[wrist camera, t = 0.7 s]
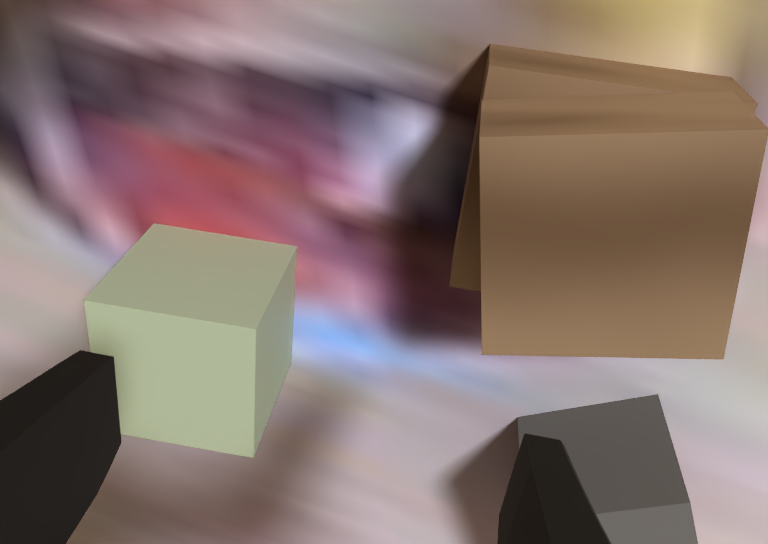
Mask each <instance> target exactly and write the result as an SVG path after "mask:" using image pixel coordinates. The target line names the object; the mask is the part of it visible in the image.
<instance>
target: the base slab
mask: <svg viewBox="0 0 768 544" xmlns="http://www.w3.org/2000/svg"><path fill="white" fill-rule="evenodd" d="M721 91H733V92H734V93H735V94H736V95H737V96H738V97H739V98H740V99H741V100H742V101H743V102H744V104H745V105H746V106H747V107H748V108H749V109H750V110H751V111H752V112H753V113H754V112H755V110H756V107H757V105H758V103H757V102H756V101H755V100H754V99H753V98H752V97H751V96H750V95H749V94H748V93H747V92H746V91H745V90H744V89H743V88H742V87H741V86H740V85H739V84H738V83H737V82H736V81H735V80H734V79H733V78H732V77H724V76H717V75H710V74H703V73H696V72H688V71H681V70H674V69H667V68H660V67H652V66H645V65H638V64H631V63H624V62H616V61H609V60H602V59H595V58H588V57H580V56H573V55H566V54H559V53H552V52H544V51H537V50H530V49H523V48H516V47H508V46H501V45H494V44H490V47H489V52H488V58H487V64H486V69H485V75H484V81H483V86H482V92H481V98H480V103H479V109H478V114H477V120H476V126H475V131H474V137H473V143H472V148H471V154H470V159H469V165H468V171H467V176H466V182H465V188H464V193H463V199H462V204H461V210H460V216H459V221H458V227H457V233H456V238H455V244H454V249H453V258H452V267H451V276H450V285H449V287H455V288H461V289H467V290H473V291H479V292H481V238H480V153H479V134H480V119H481V104H482V100H492V99H520V98H549V97H578V96H606V95H635V94H663V93H692V92H721Z"/></svg>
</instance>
